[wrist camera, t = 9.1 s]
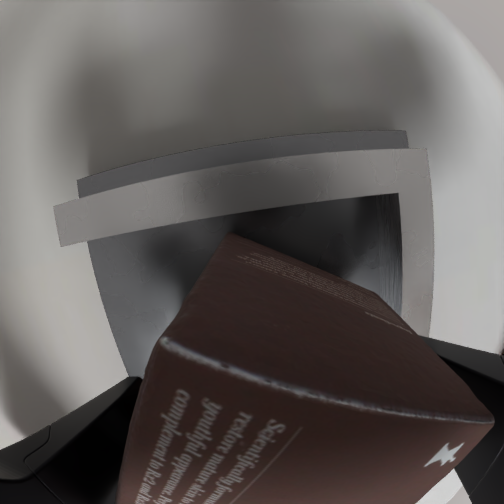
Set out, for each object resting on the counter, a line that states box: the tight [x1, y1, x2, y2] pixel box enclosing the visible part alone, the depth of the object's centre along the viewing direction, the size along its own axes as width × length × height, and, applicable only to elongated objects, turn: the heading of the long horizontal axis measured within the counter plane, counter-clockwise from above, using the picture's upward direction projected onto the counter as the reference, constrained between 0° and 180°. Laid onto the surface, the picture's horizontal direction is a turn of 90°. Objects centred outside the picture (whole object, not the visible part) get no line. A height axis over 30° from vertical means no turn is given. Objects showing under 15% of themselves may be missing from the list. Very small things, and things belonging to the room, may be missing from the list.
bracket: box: [54, 130, 434, 379], centre depth 11 cm, size 14×14×3 cm
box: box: [115, 232, 495, 504], centre depth 7 cm, size 6×6×7 cm
